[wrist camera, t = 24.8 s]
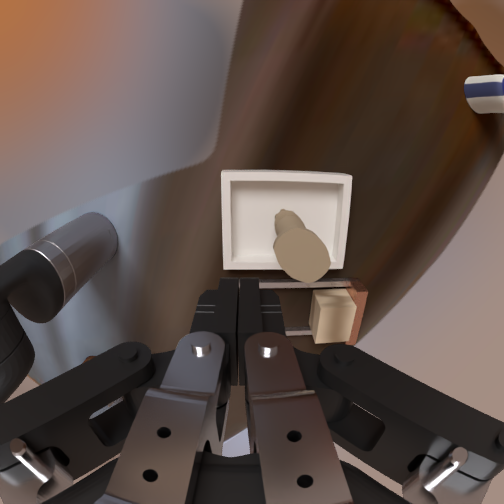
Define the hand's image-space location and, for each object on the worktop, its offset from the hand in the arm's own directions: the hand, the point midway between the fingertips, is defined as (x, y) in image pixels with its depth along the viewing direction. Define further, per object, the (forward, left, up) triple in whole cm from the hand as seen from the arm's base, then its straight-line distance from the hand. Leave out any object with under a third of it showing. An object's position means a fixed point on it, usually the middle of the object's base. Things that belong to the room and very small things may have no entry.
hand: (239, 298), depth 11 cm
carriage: (+14, -21, -32) cm, 41 cm away
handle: (+6, -5, -32) cm, 33 cm away
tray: (+6, -5, -32) cm, 33 cm away
